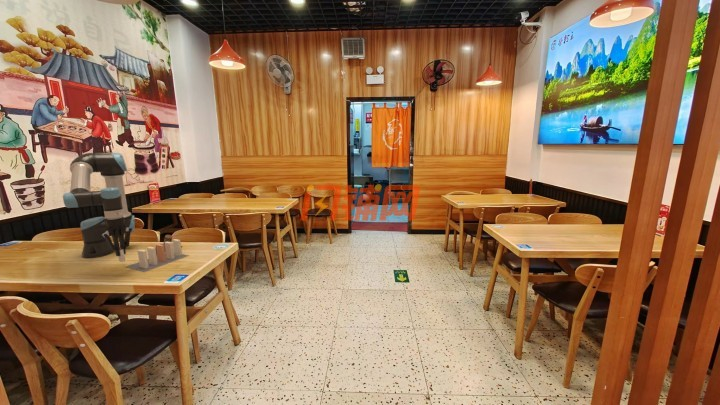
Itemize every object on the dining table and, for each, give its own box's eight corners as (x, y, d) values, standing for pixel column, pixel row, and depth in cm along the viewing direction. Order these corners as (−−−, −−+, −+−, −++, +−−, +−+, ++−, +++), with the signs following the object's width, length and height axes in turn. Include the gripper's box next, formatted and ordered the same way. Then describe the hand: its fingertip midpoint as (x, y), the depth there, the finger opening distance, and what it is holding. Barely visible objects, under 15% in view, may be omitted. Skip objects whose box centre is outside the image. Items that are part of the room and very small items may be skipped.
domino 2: (154, 265, 166) (152, 248, 164) (149, 263, 168) (146, 247, 166) (157, 264, 168) (155, 247, 166) (152, 262, 170) (149, 246, 168)
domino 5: (179, 256, 180) (177, 240, 178) (174, 255, 182) (172, 239, 180) (182, 255, 181) (180, 240, 179) (176, 254, 183) (174, 239, 181)
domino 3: (160, 259, 174) (158, 244, 172) (166, 261, 172) (164, 245, 170) (158, 260, 173) (155, 244, 171) (163, 262, 171) (161, 245, 169)
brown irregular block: (159, 260, 181) (162, 246, 178) (148, 254, 182) (150, 240, 179) (182, 249, 198) (185, 237, 195) (171, 244, 199) (174, 231, 196)
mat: (124, 268, 164) (124, 267, 164) (170, 252, 188) (170, 251, 188) (144, 273, 157) (144, 272, 157) (189, 256, 181) (189, 255, 181)
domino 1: (145, 268, 162) (143, 251, 160) (140, 267, 164) (137, 250, 162) (148, 267, 163) (146, 250, 161) (143, 266, 165) (140, 249, 163)
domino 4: (171, 259, 175) (169, 243, 173) (166, 257, 177) (164, 242, 175) (174, 258, 177) (172, 242, 175) (169, 257, 179) (166, 241, 177)
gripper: (104, 221, 141) (112, 266, 146) (133, 215, 153) (139, 257, 157) (95, 220, 144) (103, 264, 148) (124, 214, 156) (131, 255, 160)
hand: (122, 261), depth 153 cm, fingers closed
